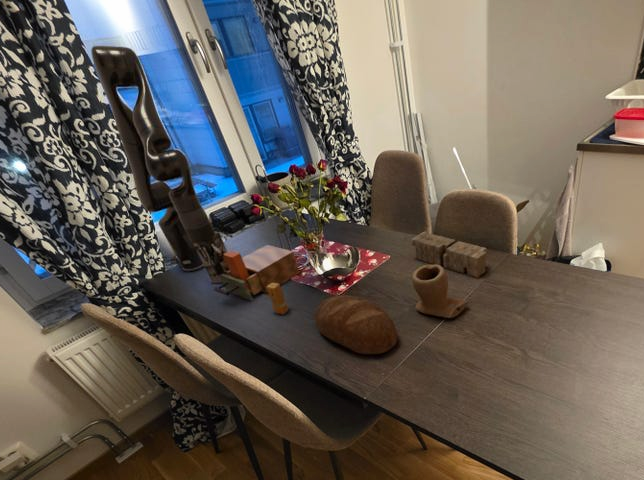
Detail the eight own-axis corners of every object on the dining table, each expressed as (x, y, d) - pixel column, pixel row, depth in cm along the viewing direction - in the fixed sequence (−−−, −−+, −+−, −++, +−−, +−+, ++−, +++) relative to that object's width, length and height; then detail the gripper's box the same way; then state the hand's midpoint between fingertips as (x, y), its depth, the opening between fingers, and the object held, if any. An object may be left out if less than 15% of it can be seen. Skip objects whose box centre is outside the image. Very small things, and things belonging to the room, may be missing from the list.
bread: (373, 367, 104) (365, 334, 96) (305, 331, 119) (294, 300, 112) (410, 337, 112) (406, 304, 105) (342, 307, 127) (334, 276, 120)
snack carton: (237, 287, 140) (222, 254, 131) (244, 283, 142) (230, 250, 133) (246, 291, 137) (232, 257, 129) (254, 286, 139) (240, 253, 131)
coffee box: (228, 282, 148) (209, 242, 137) (212, 283, 148) (192, 244, 138) (236, 270, 155) (219, 231, 144) (221, 271, 155) (203, 233, 145)
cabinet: (266, 293, 139) (258, 271, 133) (241, 284, 146) (232, 263, 140) (300, 272, 148) (293, 251, 143) (274, 265, 155) (267, 244, 150)
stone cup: (408, 316, 120) (402, 273, 110) (426, 297, 127) (423, 255, 117) (452, 328, 114) (450, 283, 104) (469, 307, 121) (468, 263, 111)
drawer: (237, 307, 132) (228, 290, 127) (214, 298, 138) (205, 281, 133) (282, 279, 143) (276, 262, 139) (259, 272, 150) (252, 255, 145)
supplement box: (289, 309, 129) (280, 283, 123) (283, 315, 127) (272, 288, 121) (282, 307, 131) (272, 281, 124) (275, 313, 128) (264, 287, 122)
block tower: (488, 271, 138) (425, 250, 153) (490, 249, 132) (424, 229, 147) (476, 280, 134) (412, 258, 149) (477, 258, 128) (411, 237, 143)
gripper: (219, 221, 118) (241, 272, 129) (195, 215, 124) (218, 265, 135) (197, 231, 113) (222, 283, 125) (173, 224, 119) (199, 275, 131)
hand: (220, 273), depth 130 cm, fingers closed
